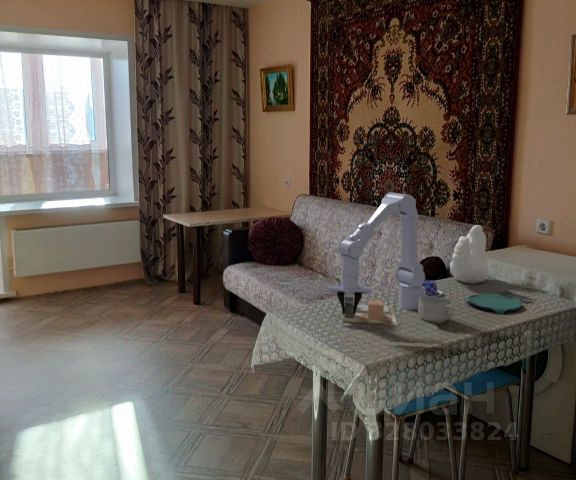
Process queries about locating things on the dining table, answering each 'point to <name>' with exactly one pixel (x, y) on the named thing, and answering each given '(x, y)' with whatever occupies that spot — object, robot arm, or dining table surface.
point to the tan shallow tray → (361, 315)
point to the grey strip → (362, 307)
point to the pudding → (431, 288)
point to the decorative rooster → (470, 257)
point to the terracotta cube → (375, 309)
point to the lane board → (392, 317)
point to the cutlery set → (498, 301)
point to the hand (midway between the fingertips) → (348, 313)
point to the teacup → (435, 309)
